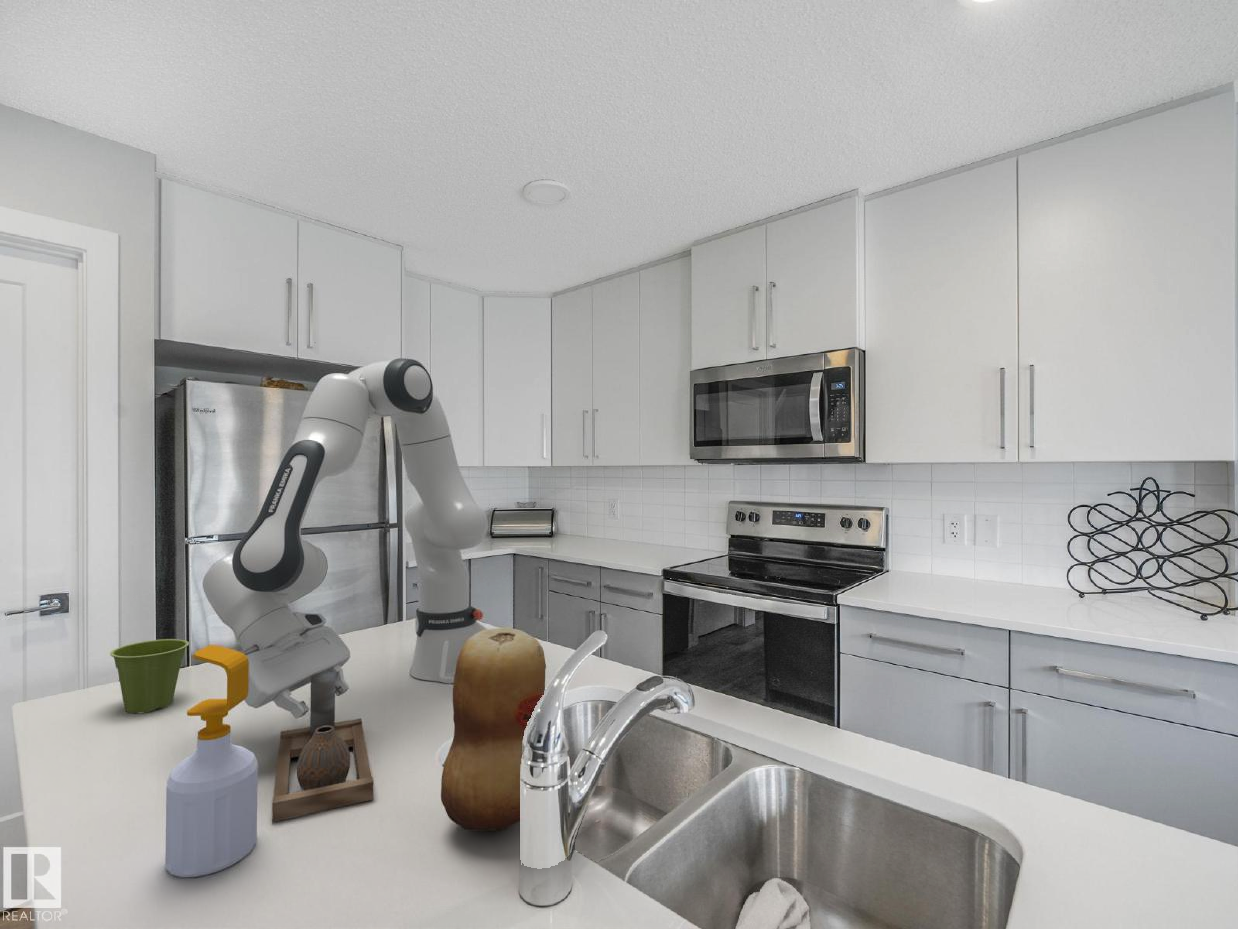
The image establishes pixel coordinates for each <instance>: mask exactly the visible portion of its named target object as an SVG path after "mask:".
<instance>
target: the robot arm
mask: <svg viewBox="0 0 1238 929" xmlns="http://www.w3.org/2000/svg"><path fill="white" fill-rule="evenodd" d="M433 385H434V384H433V381H432V377H431V375H430V373H429V372H428V370H427V368H426V367H425V365H423V364H422V363H421V362H420V361H418V360H416V359H411V358H403V357H400V358H395V359H391V360H382V361H375V362H373V363H369V364H367V365H365V366H364V365H363V366H362V367H359V368H352V369H349V370H348V371H346V372H344V373H341V372H339V373H338V372H337V373H335V372H334V373H329V374H326V375H324V376H323V377H321V378H320V379H319V381H318V382H317V384H316V385H315V387H314V389H313V391H312V393H311V394H310V397H309V399H308V401H307V403H306V405H305V408H304V411H303V413H302V417H301V419H300V422H299V425H298V428H297V431H296V434H295V437H294V440H293V442H292V444H291V446H290V447H289V448H288V450H287V451H286V453H285V455H284V457H283V458H282V460H281V462H280V465H279V467H278V469H277V472H276V473H275V476H274V477H273V478H274V479H273V481H272V484H271V485H270V488H269V490H268V493H267V495H266V497H265V500H264V502H263V504H262V507H261V509H260V511H259V513H258V516H257V517H256V519H255V521H254V522H253V524H252V526H251V527H250V528H249V529H248V530H247V532H246V533H245V534H244V535H243V536H242V538H241V539H240V540H239V542H238V544H237V545H236V547H235V549H234V551H233V553H229V554H227V555H225V556H223V557H222V558H220V559H219V560H217V561H216V562H215V563H213V565H211V566H210V567H209V568H208V570H207V572H206V573H205V574H204V576H203V579H202V589H203V590H202V591H203V592H204V594H205V598H206V599H207V601H208V603H209V604H210V606H211V608H212V609H213V611H214V613H215V614H216V615H217V616H218V618H219V620H220V621H221V622H222V623H223V624H224V625H226V626H227V627H228V628H230V630H232V632H233V634H234V637H235V639H236V642H237V643H238V645H239V646H240V648H242V650H240V651H239V652H241V653H243V654H245V655H246V656H247V658H248V661H249V689H248V696H247V698H246V699H244V700H243V701H244V702H245V704H247V706H248V707H251V708H253V709H258V708H261V707H263V706H265V705H267V704H269V703H271V702H273V703H274V704H275V705H276V706H277V708H278V707H279V708H281V709H283V710H285V711H288V712H290V714H291V715H292V717H293V718H294V719H299V718H302V717H303V716H305V715H306V713H308V712H309V710H310V708H309V706H308V705H307V704H306V702H305V701H304V700H302V701H299V700H297V699H295V698H294V697H292V696H291V695H292V693H293V692H294V691H296V690H298V689H301V688H302V687H304V686H306V685H308V684H311V676H313V675H315V674H318V673H323V672H332V673H335V697H339V696H341V695H344V694H345V693H346V692H348V691H349V689H350V687H349V684H348V683H347V682H346V681H345V677H344V670H343V668H342V667H343V666H344V665H345V664H346V663H347V662H348V661H349V660H350V659H351V651H350V649H349V647H348V646H347V644H346V643H345V641H344V640H343V639H342V638H341V637H340V636H339V634H338V633H337V632H336V631H335V630H334V629H333V628H332V627H329V626H327V625H325V624H326V623H327V620H326V618H325V616H324V615H323V614H321V613H307V612H306V613H305V612H299V611H293V610H292V609H291V608H290V607H289V605H290V604H292V603H293V602H296V601H297V600H299V599H301V598H303V597H304V596H306V595H308V594H310V593H312V592H313V591H314V590H316V589H317V588H318V587H319V586H320V585H321V584H322V583H323V581H324V580H325V578H326V576H327V573H328V567H329V565H328V560H327V559H328V558H327V557H326V554H325V553H324V552H323V550H322V549H320V547H318V546H315V545H314V544H312V543H311V542H309V541H307V540H304V539H303V538H302V533H301V532H302V530H301V529H302V525H303V522H304V519H305V517H306V514H307V511H308V509H309V506H310V504H311V500H312V498H313V495H314V493H315V490H316V488H317V486H318V485H319V483H320V482H322V481H323V479H326V478H327V477H329V478H330V477H335V476H338V475H340V474H343V473H345V472H347V471H348V470H350V469H351V468H352V466H353V465H354V463H355V461H356V459H357V457H358V455H359V453H360V450H361V448H362V444H363V439H364V436H365V432H366V430H367V429H366V427H367V422H368V420H369V419H370V418H385V417H390V418H391V419H392V421H393V422H394V424H395V426H396V432H397V438H398V443H399V447H400V452H401V457H402V460H403V464H404V467H405V472H406V476H407V479H408V481H409V482H410V484H411V485H412V486H413V487H414V488H415V491H416V492H417V494H418V496H419V498H420V500H417V501H416V502H413V503H412V504H411V505H410V506H409V507H408V509H407V511H406V512H405V516H404V526H405V529H406V531H407V532H408V534H409V536H410V539H411V543H412V548H413V551H414V558H415V561H416V562H415V563H416V568H417V576H418V585H417V586H418V593H417V594H418V596H417V597H418V603H417V604H418V607H417V609H416V611H415V621H414V622H415V628H414V629H415V634H416V639H415V640H416V641H415V642H416V643H415V648H414V654H413V659H412V663H411V666H410V670H409V675H410V676H412V677H414V678H415V679H419V680H423V681H431V682H432V681H434V682H441V683H444V684H453V683H454V677H455V671H456V665H457V660H458V657H459V654H460V651H461V649H462V647H463V645H464V644H465V643H466V641H467V640H468V639H469V638H470V637H471V636H473V635H474V634H476V633H478V632H480V631H483V630H486V629H488V628H487V627H485V626H484V625H482V624H481V623H480V622H478V621H480V620H482V618H483V617H484V612H483V611H481V609H477V607H476V608H475V606H472V605H470V572H469V570H468V568H467V566H466V564H465V562H464V560H463V556H462V553H461V550H467V549H468V550H469V549H471V548H474V547H477V546H479V544H480V543H482V542H483V540H484V539H485V538H486V536H487V533H488V530H489V520H488V517H487V515H486V513H485V511H484V510H483V509H482V508H481V507H480V506H479V505H478V504H477V502H476V500H475V499H474V497H473V495H472V493H471V491H470V490H469V488H468V486H467V483H466V481H465V479H464V477H463V475H462V472H461V470H460V466H459V464H458V459H457V455H456V452H455V447H454V444H453V437H452V435H451V430H450V427H449V424H448V423H449V422H448V420H447V417H446V414H445V411H444V408H443V407H442V404H441V401H440V399H439V398H438V396H437V395H436V394H435V393H434V387H433Z"/></svg>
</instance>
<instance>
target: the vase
mask: <svg viewBox="0 0 1238 929" xmlns="http://www.w3.org/2000/svg"><path fill="white" fill-rule="evenodd" d="M350 768H351V754H350V749H349V747H348V746H347V744H346V743H345V741H344V740H343V739H342V738H341V737H340V736H339V735H338V734H337V733H336V731H335V729H334V727H333V726H321V727H319V728H317V729H316V730H315V732H314V734H313V736H312V738H311V739H310V740H309V741H308V743H307V744H306V745H305V747H304V748H303V750H302V751H301V754H300V756H298V760H297V763H296V778H297V783H298V785H299V788H300V789H301V790H302V791H305V790H310V789H315V788H320V787H325V786H329V785H334V784H339V783H344V782H346V780H347V779H348V778H347V777H348V775H349V773H350Z"/></svg>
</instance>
